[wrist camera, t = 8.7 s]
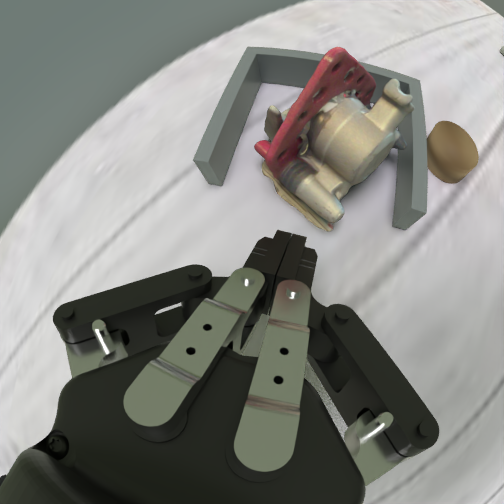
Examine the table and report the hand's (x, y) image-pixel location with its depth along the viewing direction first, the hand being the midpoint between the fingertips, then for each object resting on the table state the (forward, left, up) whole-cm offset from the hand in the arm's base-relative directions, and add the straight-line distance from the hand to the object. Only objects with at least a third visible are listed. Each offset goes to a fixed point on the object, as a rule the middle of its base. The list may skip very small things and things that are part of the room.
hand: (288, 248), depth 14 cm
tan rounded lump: (-12, -13, -6) cm, 19 cm away
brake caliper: (-1, -10, -7) cm, 12 cm away
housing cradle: (0, -11, -6) cm, 13 cm away
